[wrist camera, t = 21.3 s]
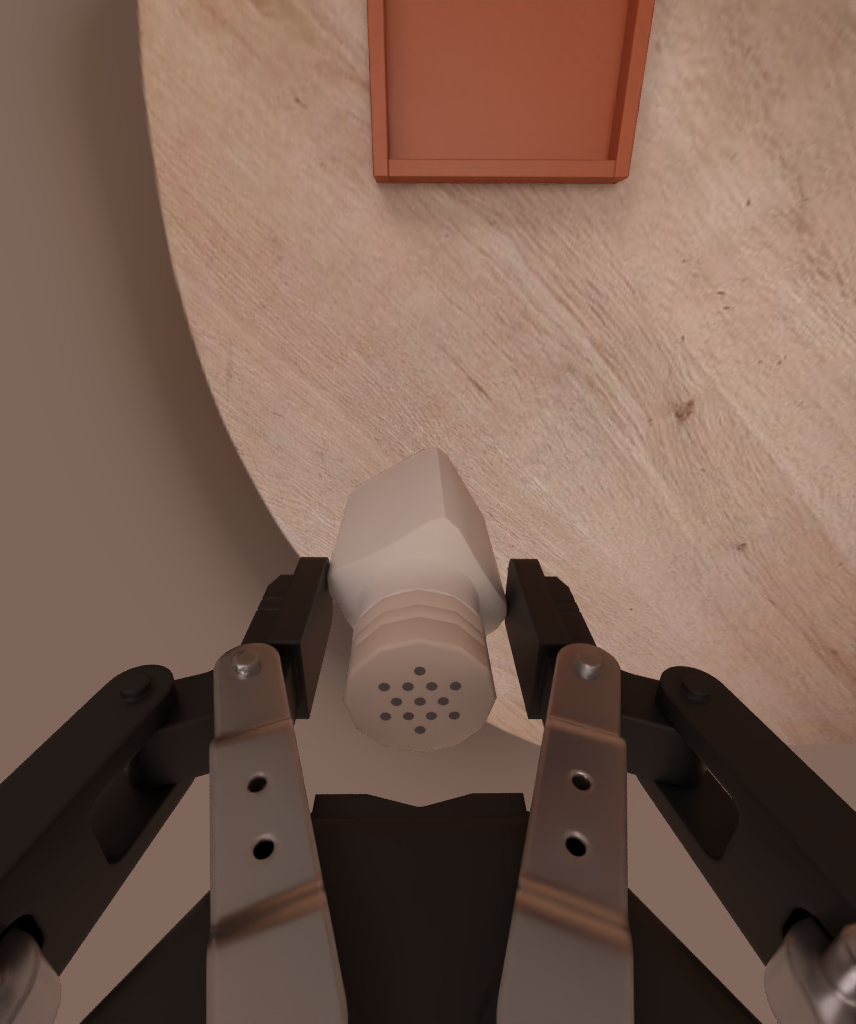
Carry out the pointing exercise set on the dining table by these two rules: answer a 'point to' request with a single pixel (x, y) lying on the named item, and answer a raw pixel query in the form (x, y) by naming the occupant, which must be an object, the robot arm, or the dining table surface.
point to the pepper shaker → (417, 605)
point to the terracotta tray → (505, 89)
